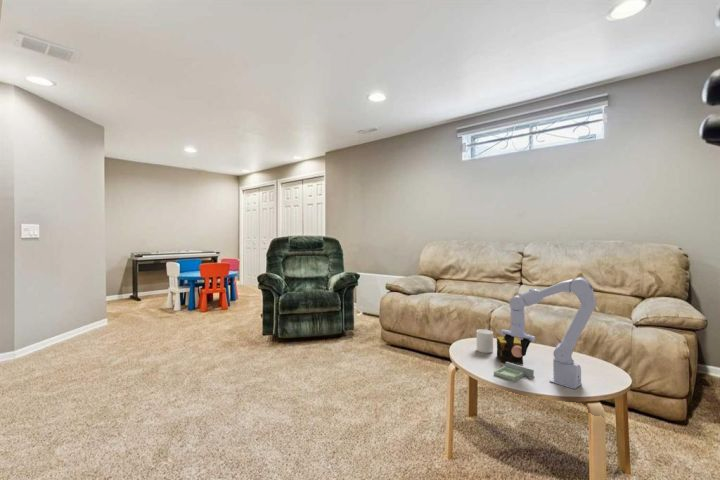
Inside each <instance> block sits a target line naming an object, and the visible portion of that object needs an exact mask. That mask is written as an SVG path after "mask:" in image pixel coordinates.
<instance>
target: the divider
mask: <svg viewBox="0 0 720 480" xmlns="http://www.w3.org/2000/svg"><path fill="white" fill-rule="evenodd" d="M505 367H508V368H512V369H515V370H518V371H522V372H524V376H523V377H528V379H531V380H532V379H534V378H535V374H534V371H535V369H533V368H529V367H526V366H523V365H521V364H516V363H509V362H506V363H505Z"/></svg>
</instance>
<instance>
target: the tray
mask: <svg viewBox="0 0 720 480" xmlns="http://www.w3.org/2000/svg"><path fill="white" fill-rule="evenodd" d="M493 375H494V376H495V377H499V378H503V379H505V380H509V381H511V382H516V381H517V380H520V379H522V378H523V377H525V376H524V372H522V371H518V370H515V369H512V368H508V367H506V365H504V366H502V367H499V368H498V369H496V370H493Z"/></svg>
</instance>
